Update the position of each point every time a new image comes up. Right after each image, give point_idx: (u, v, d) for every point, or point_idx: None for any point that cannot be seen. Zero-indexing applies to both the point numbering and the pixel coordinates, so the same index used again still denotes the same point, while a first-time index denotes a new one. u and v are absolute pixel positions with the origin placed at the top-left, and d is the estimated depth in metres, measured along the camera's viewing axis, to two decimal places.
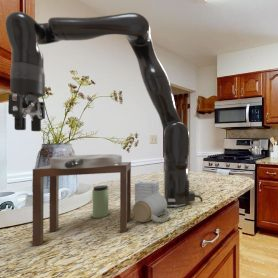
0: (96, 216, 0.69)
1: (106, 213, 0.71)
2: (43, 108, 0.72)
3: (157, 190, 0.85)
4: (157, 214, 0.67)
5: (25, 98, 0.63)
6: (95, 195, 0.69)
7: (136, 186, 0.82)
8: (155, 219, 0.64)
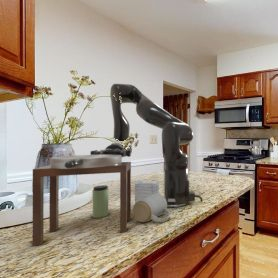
0: (96, 216, 0.69)
1: (106, 213, 0.71)
2: (128, 150, 0.93)
3: (157, 190, 0.85)
4: (157, 214, 0.67)
5: None
6: (95, 195, 0.69)
7: (136, 186, 0.82)
8: (155, 219, 0.64)
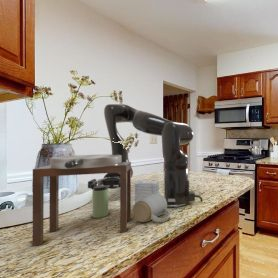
0: (96, 216, 0.69)
1: (106, 213, 0.71)
2: None
3: (157, 190, 0.85)
4: (157, 214, 0.67)
5: None
6: (95, 195, 0.69)
7: (136, 186, 0.82)
8: (155, 219, 0.64)
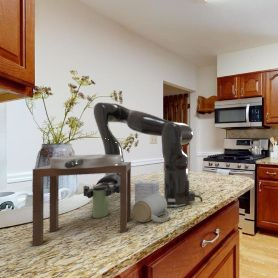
0: (96, 216, 0.69)
1: (106, 213, 0.71)
2: None
3: (157, 190, 0.85)
4: (157, 214, 0.67)
5: None
6: (95, 195, 0.69)
7: (136, 186, 0.82)
8: (155, 219, 0.64)
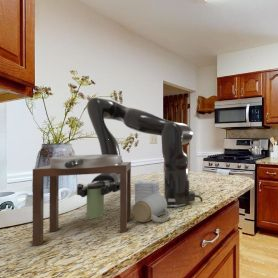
0: (90, 217, 0.63)
1: (101, 213, 0.65)
2: (118, 182, 0.73)
3: (157, 190, 0.85)
4: (157, 214, 0.67)
5: None
6: (89, 194, 0.63)
7: (136, 186, 0.82)
8: (155, 219, 0.64)
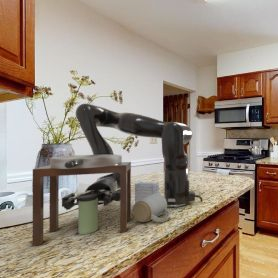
0: (82, 232, 0.57)
1: (95, 228, 0.59)
2: (118, 191, 0.67)
3: (157, 190, 0.85)
4: (157, 214, 0.67)
5: None
6: (81, 207, 0.57)
7: (136, 186, 0.82)
8: (155, 219, 0.64)
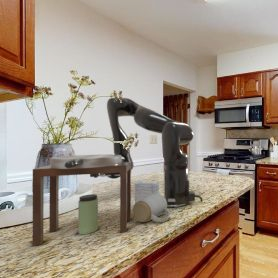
0: (82, 232, 0.57)
1: (95, 228, 0.59)
2: None
3: (157, 190, 0.85)
4: (157, 214, 0.67)
5: None
6: (81, 207, 0.57)
7: (136, 186, 0.82)
8: (155, 219, 0.64)
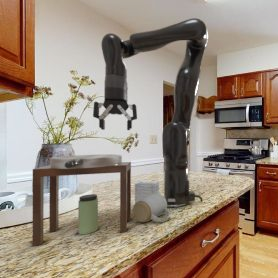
0: (82, 232, 0.57)
1: (95, 228, 0.59)
2: (133, 109, 0.82)
3: (157, 190, 0.85)
4: (157, 214, 0.67)
5: (103, 104, 0.78)
6: (81, 207, 0.57)
7: (136, 186, 0.82)
8: (155, 219, 0.64)
